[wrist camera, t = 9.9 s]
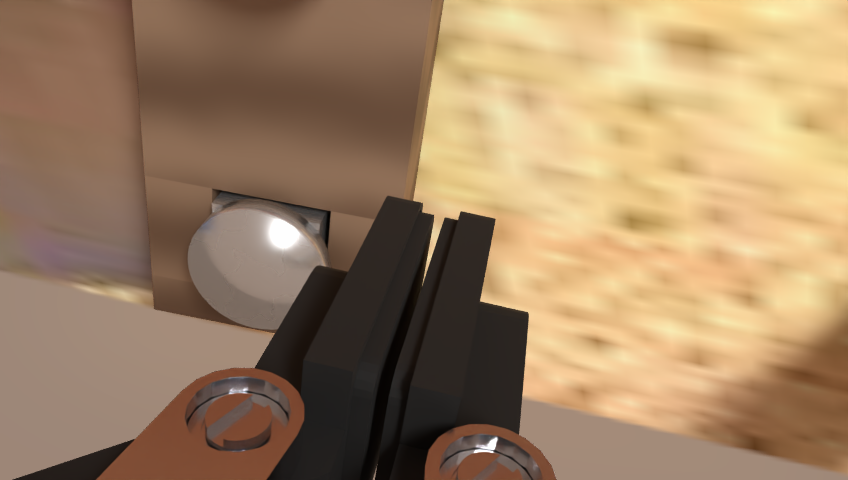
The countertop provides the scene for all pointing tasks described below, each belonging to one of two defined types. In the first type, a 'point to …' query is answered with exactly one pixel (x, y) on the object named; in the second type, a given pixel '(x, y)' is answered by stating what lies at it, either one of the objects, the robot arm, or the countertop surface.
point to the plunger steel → (257, 256)
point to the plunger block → (277, 116)
